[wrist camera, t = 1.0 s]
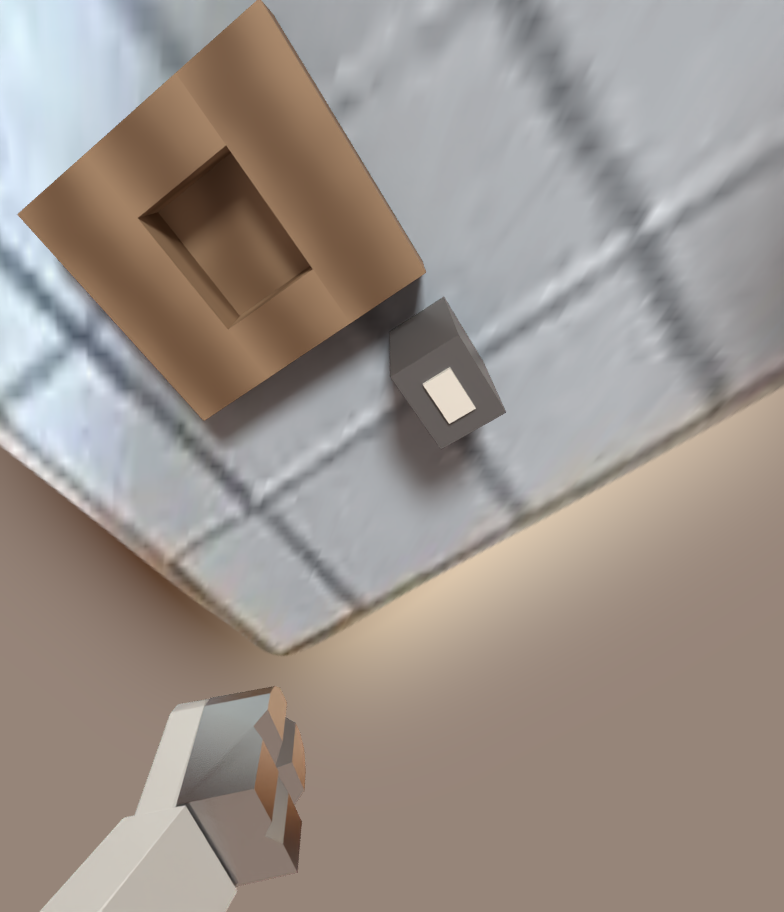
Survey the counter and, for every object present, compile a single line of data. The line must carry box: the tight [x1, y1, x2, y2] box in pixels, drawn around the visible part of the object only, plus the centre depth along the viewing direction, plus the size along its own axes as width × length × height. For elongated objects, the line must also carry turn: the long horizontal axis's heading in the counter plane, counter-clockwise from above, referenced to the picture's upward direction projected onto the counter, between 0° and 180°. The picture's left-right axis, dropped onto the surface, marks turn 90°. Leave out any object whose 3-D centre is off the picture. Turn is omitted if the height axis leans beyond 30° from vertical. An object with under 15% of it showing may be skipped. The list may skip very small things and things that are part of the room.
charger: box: [390, 297, 506, 449], centre depth 33 cm, size 4×5×8 cm
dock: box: [17, 0, 426, 421], centre depth 31 cm, size 16×14×4 cm
